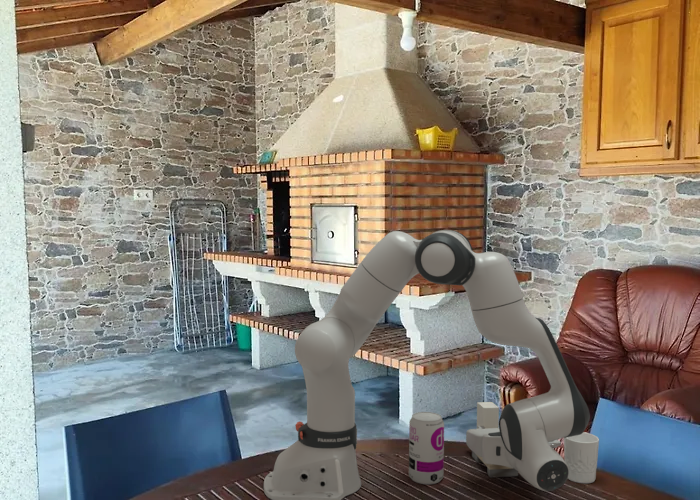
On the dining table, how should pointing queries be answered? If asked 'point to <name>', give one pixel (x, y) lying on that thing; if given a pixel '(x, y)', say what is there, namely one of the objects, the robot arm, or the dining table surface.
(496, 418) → the rider
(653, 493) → the dining table surface
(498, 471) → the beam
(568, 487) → the dining table surface
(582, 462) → the white cup
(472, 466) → the dining table surface
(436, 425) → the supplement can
